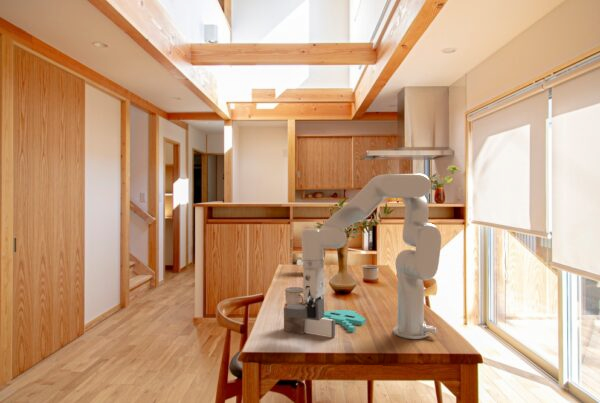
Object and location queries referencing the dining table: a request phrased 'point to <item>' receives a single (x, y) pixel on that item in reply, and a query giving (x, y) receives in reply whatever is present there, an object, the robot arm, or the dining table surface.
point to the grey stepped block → (305, 310)
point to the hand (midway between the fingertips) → (315, 314)
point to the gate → (320, 326)
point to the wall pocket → (293, 324)
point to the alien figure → (345, 318)
